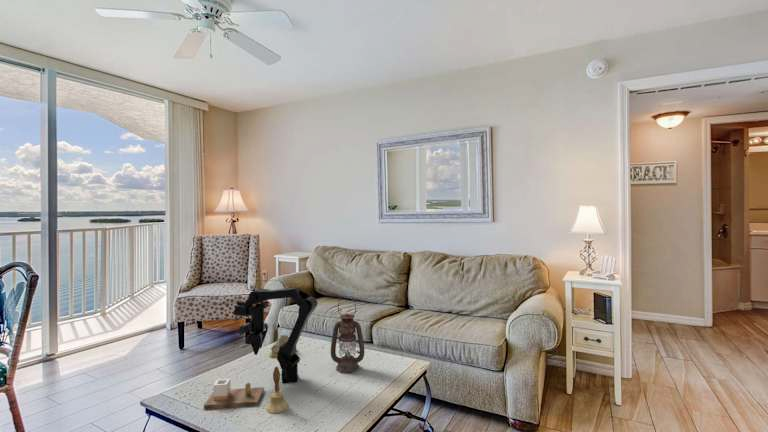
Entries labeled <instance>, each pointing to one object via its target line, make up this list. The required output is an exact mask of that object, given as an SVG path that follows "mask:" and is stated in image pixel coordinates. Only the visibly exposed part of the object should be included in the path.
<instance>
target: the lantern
mask: <svg viewBox="0 0 768 432" xmlns="http://www.w3.org/2000/svg"><path fill="white" fill-rule="evenodd" d="M342 298H353V300H354V303H355V304H354V305H355V306H354V307H355V310H354V313H353V314H349V313H345V314H343V313H342V314H341V313H340V309H339V307H340V302H341V301H340V300H341V299H342ZM337 304H338V305H337V311H338V314H339V315H340V316H339V319H341V320H339V321H336V323H335V324H334V326H333V329H332V330H333V331H332V335H331V342H330V357H331V360H332V361H334V362H335V363H337V364H336V368H335V370H336V372H338V371H339V372H338V373H340V372H341V373H340V374H346V373H347V374H352V372H354V373H356V372H358V371H359V370H358V369H360V365H359V363H360V362H361V361H363V359H364V356H365V344H364V343H365V342H364V336H363V330H362V326H361V324H360V323H359V322H358V321H356V320H354V319H355V317H356V316H355V314H356V312H357V302H356V300H355V297H354V296H350V295H349V296H348V295H347V296H346V295H345V296H341V297H340V298H339V299H338V303H337ZM338 333H339V334H340V335H339V336H338ZM354 333H356V334H357V336H356V334H354ZM356 337H357V338H356ZM357 339H358V341H357ZM337 340H338V344H339V345H338V348H339V351H338V354H339V355H340V357H339V356H337V354H336V349H337V348H336V347H337ZM340 342H341V343H340ZM357 342H358V347H359V348H358V349H359V350H357V351H356V347H357V344H356V343H357ZM356 354H359V355H358V356H357V357H355V356H356ZM342 355H343V356H342ZM357 370H358V371H357ZM355 371H356V372H355Z"/></svg>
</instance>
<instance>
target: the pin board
mask: <svg viewBox="0 0 768 432" xmlns="http://www.w3.org/2000/svg"><path fill="white" fill-rule="evenodd" d="M244 387H245V388H230V395H229V396H228V398H227V399H224V400H214V390H213V392H211V394H210V396H209V397H208V399H207V400H206V402H205V403H204V404H203V410H212V409H224V408H225V409H226V408H227V409H228V408H237V407H238V408H239V407H241V408H242V407H253V406H256V407H257V406H259V403H260V401H261V398H262V396H263V393H264V389H265V388H264V386H263V387H262V386H261V387H251V383H250V382H246V383H245V386H244Z"/></svg>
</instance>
